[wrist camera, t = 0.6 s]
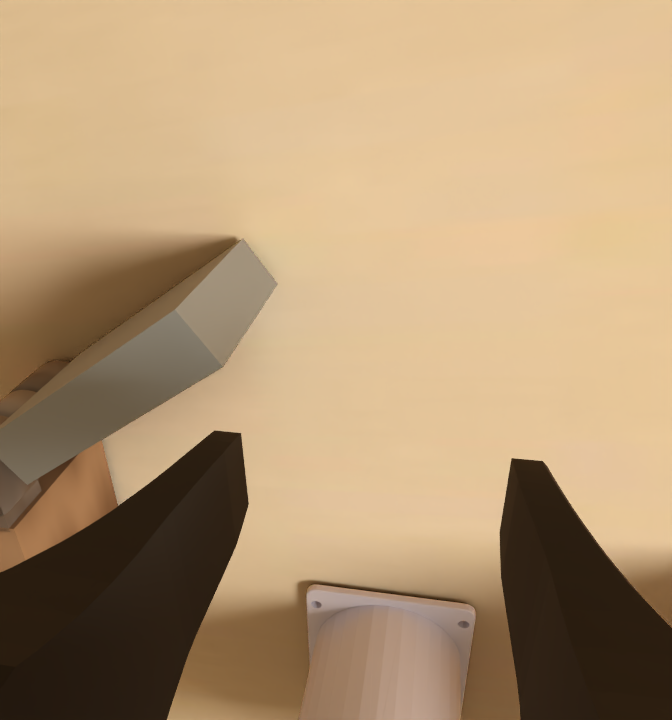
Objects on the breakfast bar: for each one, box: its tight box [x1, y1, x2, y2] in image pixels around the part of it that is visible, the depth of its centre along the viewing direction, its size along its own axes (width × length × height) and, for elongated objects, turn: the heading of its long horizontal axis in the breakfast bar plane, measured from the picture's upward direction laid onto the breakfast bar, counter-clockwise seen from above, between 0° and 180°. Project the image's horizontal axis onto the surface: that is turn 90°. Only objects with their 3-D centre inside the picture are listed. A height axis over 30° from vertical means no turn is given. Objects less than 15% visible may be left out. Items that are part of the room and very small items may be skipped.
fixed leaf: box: [0, 361, 118, 572], centre depth 26 cm, size 12×3×6 cm, turn 1°
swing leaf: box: [0, 239, 277, 485], centre depth 21 cm, size 12×3×6 cm, turn 126°
